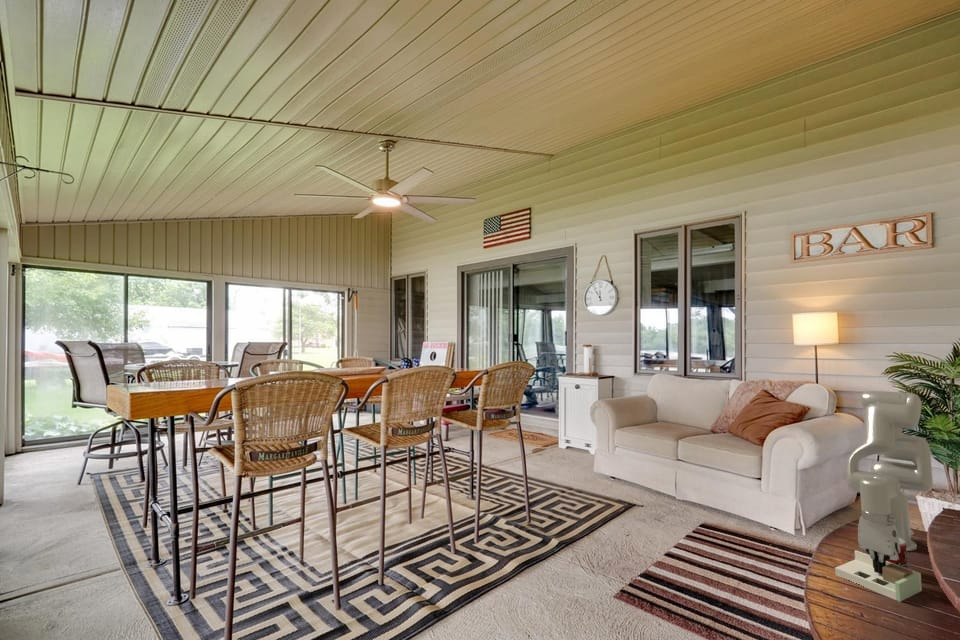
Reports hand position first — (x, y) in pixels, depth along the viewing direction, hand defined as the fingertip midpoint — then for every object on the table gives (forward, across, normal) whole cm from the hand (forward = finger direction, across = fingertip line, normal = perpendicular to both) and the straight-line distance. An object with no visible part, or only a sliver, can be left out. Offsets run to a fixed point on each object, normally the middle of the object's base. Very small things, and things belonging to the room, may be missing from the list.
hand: (879, 571), depth 154 cm
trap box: (+3, 0, +2) cm, 4 cm away
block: (+1, -5, 0) cm, 5 cm away
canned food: (+3, +2, -11) cm, 12 cm away
